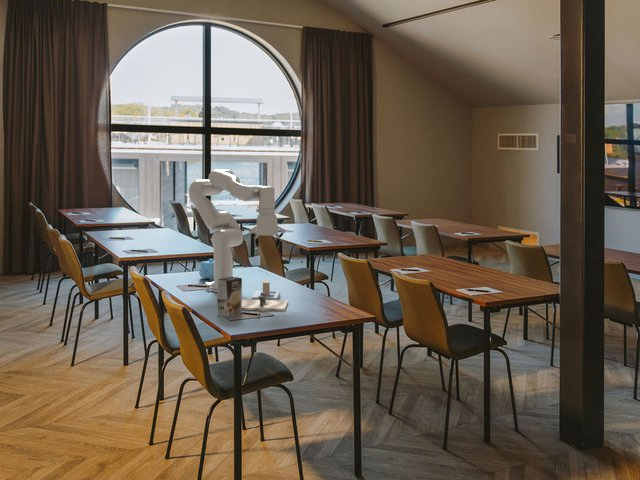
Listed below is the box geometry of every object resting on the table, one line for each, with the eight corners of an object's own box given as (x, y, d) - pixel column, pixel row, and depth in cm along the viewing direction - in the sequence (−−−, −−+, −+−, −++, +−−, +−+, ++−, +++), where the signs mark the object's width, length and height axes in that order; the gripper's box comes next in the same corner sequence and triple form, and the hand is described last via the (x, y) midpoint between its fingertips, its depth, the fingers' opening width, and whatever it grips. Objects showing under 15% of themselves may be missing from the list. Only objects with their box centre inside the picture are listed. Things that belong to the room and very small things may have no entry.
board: (236, 310, 317) (236, 298, 316) (241, 302, 335) (241, 290, 334) (284, 311, 316) (284, 299, 316) (287, 302, 334) (288, 291, 334)
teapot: (224, 281, 389) (224, 260, 387) (199, 281, 386) (199, 261, 385) (223, 276, 403) (223, 256, 402) (198, 276, 401) (198, 257, 400)
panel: (251, 301, 337) (251, 284, 336) (256, 294, 353) (256, 278, 352) (276, 301, 336) (276, 285, 335) (279, 295, 352) (280, 279, 351)
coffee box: (228, 317, 304) (228, 280, 302) (217, 315, 307) (217, 279, 305) (242, 313, 311) (242, 277, 309) (231, 311, 315) (231, 276, 313)
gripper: (248, 212, 337) (248, 247, 339) (284, 212, 336) (284, 247, 338) (250, 211, 344) (250, 245, 346) (285, 211, 344) (285, 245, 346)
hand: (267, 246), depth 342 cm, fingers open, 9 cm apart
